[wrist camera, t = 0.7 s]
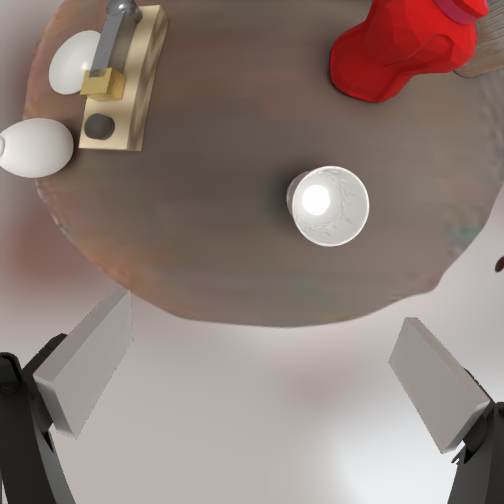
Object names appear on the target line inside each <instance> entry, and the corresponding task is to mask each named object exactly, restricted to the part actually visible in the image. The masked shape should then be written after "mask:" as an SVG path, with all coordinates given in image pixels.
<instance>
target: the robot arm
mask: <svg viewBox="0 0 504 504" xmlns="http://www.w3.org/2000/svg"><path fill="white" fill-rule="evenodd" d="M132 342H133V329H132V316H131V299H130V290H129V289H124V288H118V287H115V288H114V289H113V290H112V291H111V292H110V293H109V294H108V295H107V296H106V297H105V298H104V299H103V300H102V301H101V302H100V303H99V304H98V305H97V306H96V307H95V308H94V309H93V310H92V311H91V312H90V313H89V314H88V315H87V316H86V317H85V318H84V319H83V320H82V321H81V322H80V323H79V324H78V325H77V326H76V327H75V328H74V329H73V330H72V332H71V333H70V334H69V335H67V334H63V333H61V334H59V335H58V336H56V337H54V338H52V339H51V340H50V341H49V342H48V343H47V344H46V345H45V346H44V348H42V349H41V350H40V351H39V353H37V354H36V355H35V356H34V357H33V359H32V360H31V361H30V362H29V363H28V364H27V365H26V366H25V367H24V368H23V369H21V366H20V364H19V361H18V358H17V357H16V356H15V355H14V354H11V353H8V352H1V353H0V504H2V480H3V485H4V489H5V494H6V498H7V501H8V504H76V503H75V501H74V499H73V496H72V494H71V492H70V489H69V487H68V484H67V482H66V479H65V476H64V474H63V471H62V468H61V465H60V462H59V459H58V456H57V453H56V450H55V446H54V443H53V440H52V437H51V433H50V432H49V430H48V429H49V428H50V426H51V424H52V423H54V426H55V428H56V429H57V431H58V433H60V434H63V435H65V436H67V437H70V438H72V439H75V440H76V439H77V437H78V435H79V433H80V431H81V430H82V428H83V426H84V424H85V422H86V420H87V419H88V417H89V415H90V413H91V411H92V410H93V408H94V406H95V404H96V403H97V401H98V399H99V397H100V395H101V394H102V392H103V390H104V389H105V387H106V385H107V383H108V382H109V380H110V378H111V377H112V375H113V373H114V371H115V370H116V368H117V366H118V365H119V363H120V361H121V360H122V358H123V356H124V355H125V353H126V351H127V350H128V348H129V347H130V345H131V343H132ZM388 363H389V364H390V366H391V368H392V369H393V371H394V372H395V374H396V376H397V377H398V379H399V381H400V382H401V384H402V386H403V387H404V389H405V391H406V392H407V394H408V396H409V397H410V399H411V401H412V402H413V404H414V406H415V408H416V409H417V411H418V413H419V415H420V416H421V418H422V420H423V421H424V423H425V425H426V427H427V429H428V431H429V432H430V434H431V436H432V438H433V440H434V442H435V443H436V445H437V447H438V449H439V451H440V453H441V454H444V453H447V452H450V451H453V450H455V449H456V447H457V446H458V445H459V444H460V443H461V441H462V440H463V441H464V443H465V446H464V447H463V448H462V449H461V450H460V452H459V453H458V454H457V455H456V456H455V458H454V459H453V460H452V462H451V463H454V462H455V461H456V460H457V459H458V458H459V461H458V462H457V463H456V464H457V465H458V467H457V472H456V475H455V479H454V483H453V486H452V490H451V493H450V497H449V500H448V504H504V402H498V403H495V402H494V401H493V400H492V398H491V397H490V396H489V395H488V394H487V392H486V391H485V390H484V389H483V388H482V386H481V385H479V383H478V382H477V380H474V377H473V376H472V375H471V373H470V372H469V371H468V370H466V369H465V368H463V367H462V366H461V365H460V364H459V363H458V361H457V360H456V359H455V358H454V357H453V356H452V355H451V354H450V352H449V351H448V350H447V349H446V348H445V347H444V346H443V345H442V344H441V342H439V340H438V339H437V338H436V337H435V336H434V335H433V334H432V333H431V332H430V331H429V330H428V329H427V328H426V326H425V325H424V324H423V323H422V322H421V321H420V320H419V319H418V318H408V317H406V318H405V320H404V323H403V326H402V329H401V331H400V334H399V337H398V339H397V342H396V345H395V347H394V349H393V352H392V354H391V357H390V359H389V362H388Z"/></svg>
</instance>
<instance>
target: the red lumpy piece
mask: <svg viewBox="0 0 504 504" xmlns="http://www.w3.org/2000/svg"><path fill="white" fill-rule="evenodd" d="M488 11H489V10H488V5H487V2H486V0H373V2H372V5H371V9H370V11H369V14H368V16H367V18H366V20H365V21H364V22H362V23H360V24H359V25H357V26H355V27H353V28H351V29H349V30H348V31H346V32H344V33H343V34H342V35H341V36H340V37H339V38H338V39H337V40H336V41H335V43H334V46H333V48H332V53H331V60H330V74H331V80H332V82H333V84H334V85H335V86H336V87H337V89H339V90H340V91H342V92H344V93H346V94H348V95H349V96H353V97H356V98H359V99H362V100H365V101H370V102H384V101H386V100H388V99H390V98H391V97H393V96H395V95H396V94H397V93H398V92H399V91H400V90H401V89H402V88H403V87H404V86H405V85H406V83H407V82H408V81H409V80H410V79H411V78H412V76H415V75H417V74H428V73H447V72H450V71H452V70H455V69H458V68H461V67H463V66H464V65H465V64H466V63H467V62H468V61H469V60H470V59H471V58H472V57H473V55H474V50H475V45H476V44H477V33H478V28H477V25H476V22H475V21H477V20H479V19H481V18H482V17H484V16H486V15H488Z"/></svg>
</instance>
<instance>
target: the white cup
mask: <svg viewBox="0 0 504 504" xmlns="http://www.w3.org/2000/svg"><path fill="white" fill-rule="evenodd" d="M286 202H287V205H288V209H289V212H290V214H291V216H292V218H293V220H294V222H295V224H296V225H297V227H298V229H299V230H300V232H301V233H302V234H303V235H304V236H305V237H306V238H307V239H309V240H310V241H312V242H314V243H316V244H319V245H323V246H337V245H341V244H344V243H346V242H348V241H350V240H352V239H353V238H354V237H355V236H356V235H357V234H358V233H359V232H360V231H361V230H362V228H363V226H364V225H365V223H366V220H367V217H368V212H369V199H368V194H367V191H366V189H365V187H364V185H363V183H362V182H361V181H360V179H359V178H358V177H357V176H356V175H354V174H353V173H352V172H350V171H349V170H347V169H344V168H341V167H337V166H325V167H321V168H316V169H312V170H309V171H306V172H304V173H302V174H300V175H299V176H297V177H296V178H294V179H293V180H292V182H291V184H290V185H289V187H288V188H287V195H286Z"/></svg>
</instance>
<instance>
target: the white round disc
mask: <svg viewBox="0 0 504 504" xmlns="http://www.w3.org/2000/svg"><path fill="white" fill-rule="evenodd" d="M100 36H101V34H100V33H98V32H96V31H83V32H80V33H78V34H76V35H74V36H72V37H71V38H69V39H68V40H67V41H66V42H65V43H64V44H63V45H62V46H61V47H60V48H59V50H58V51H57V52H56V54H55V56H54V58H53V60H52V62H51V65H50V69H49V81H50V84H51V86H52V88H53V89H54V90H55V91H56V92H58V93H61V94H65V95H70V94H75V93H78V92H80V91H81V87H82V83H83V79H84V75H85V71H86V70H91V66H92V63H93V59H94V56H95V52H96V49H97V45H98V42H99V39H100Z"/></svg>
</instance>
